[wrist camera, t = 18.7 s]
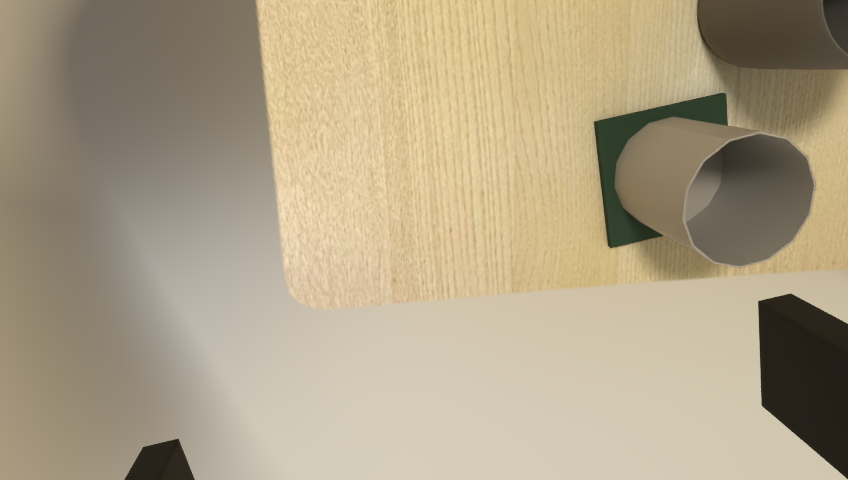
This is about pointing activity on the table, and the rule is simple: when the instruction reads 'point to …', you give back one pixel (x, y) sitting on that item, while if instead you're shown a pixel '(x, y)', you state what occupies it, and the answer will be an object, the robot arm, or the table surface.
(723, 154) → the cup
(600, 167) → the coaster mat
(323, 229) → the table surface
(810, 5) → the mug
